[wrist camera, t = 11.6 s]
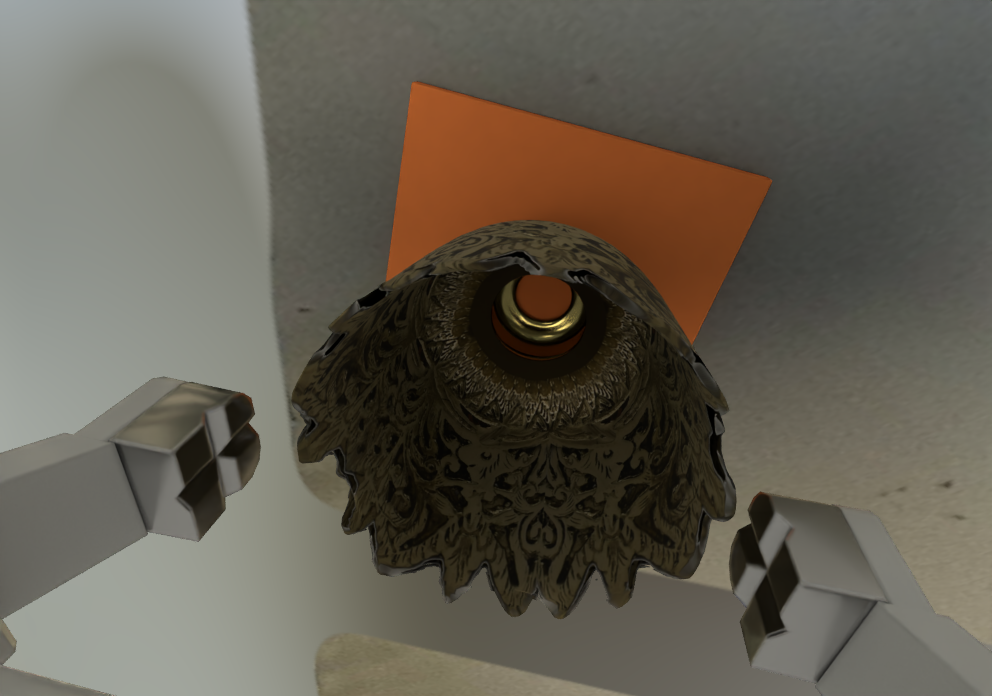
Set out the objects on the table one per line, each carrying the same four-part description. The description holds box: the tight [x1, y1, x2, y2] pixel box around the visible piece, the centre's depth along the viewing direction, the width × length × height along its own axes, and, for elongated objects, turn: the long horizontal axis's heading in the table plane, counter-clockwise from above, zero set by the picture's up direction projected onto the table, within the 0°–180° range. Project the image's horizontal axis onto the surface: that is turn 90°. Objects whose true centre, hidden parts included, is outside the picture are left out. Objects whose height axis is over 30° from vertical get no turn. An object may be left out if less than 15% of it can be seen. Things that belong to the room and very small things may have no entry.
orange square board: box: [386, 81, 772, 344], centre depth 16 cm, size 10×10×1 cm
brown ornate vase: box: [292, 220, 736, 619], centre depth 12 cm, size 7×7×8 cm
